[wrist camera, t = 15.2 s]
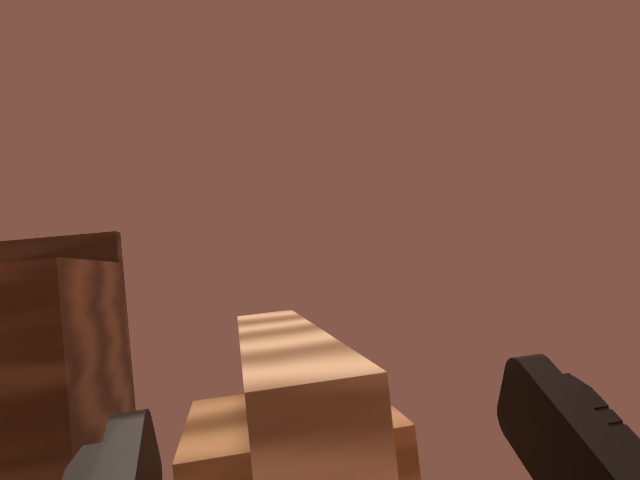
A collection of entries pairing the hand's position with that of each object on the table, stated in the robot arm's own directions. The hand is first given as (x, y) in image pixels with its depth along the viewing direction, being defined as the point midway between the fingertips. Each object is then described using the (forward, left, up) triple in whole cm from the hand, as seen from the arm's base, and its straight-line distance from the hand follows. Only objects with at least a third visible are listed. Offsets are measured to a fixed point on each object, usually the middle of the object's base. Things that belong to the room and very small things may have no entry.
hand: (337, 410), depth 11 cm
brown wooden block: (-7, +13, -4) cm, 15 cm away
